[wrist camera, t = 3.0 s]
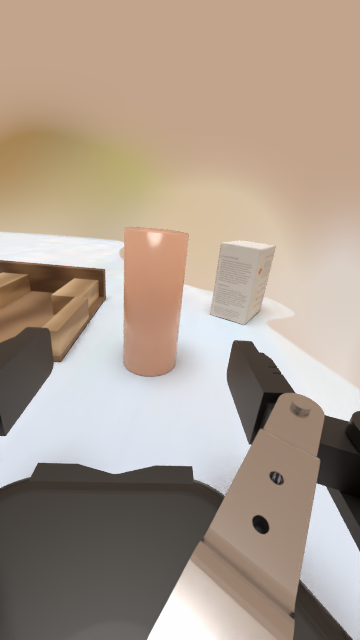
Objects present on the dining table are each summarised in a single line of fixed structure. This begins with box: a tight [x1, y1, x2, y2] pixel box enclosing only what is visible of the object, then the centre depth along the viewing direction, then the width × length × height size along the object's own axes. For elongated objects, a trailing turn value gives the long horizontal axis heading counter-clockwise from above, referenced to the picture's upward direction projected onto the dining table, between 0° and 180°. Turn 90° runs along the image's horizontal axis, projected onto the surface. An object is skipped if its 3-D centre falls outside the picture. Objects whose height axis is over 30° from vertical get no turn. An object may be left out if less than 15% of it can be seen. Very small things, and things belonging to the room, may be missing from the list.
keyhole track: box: [0, 260, 106, 362], centre depth 29 cm, size 15×18×5 cm
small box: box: [211, 240, 276, 325], centre depth 37 cm, size 8×6×10 cm
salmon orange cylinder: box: [123, 227, 189, 376], centre depth 22 cm, size 5×5×12 cm
